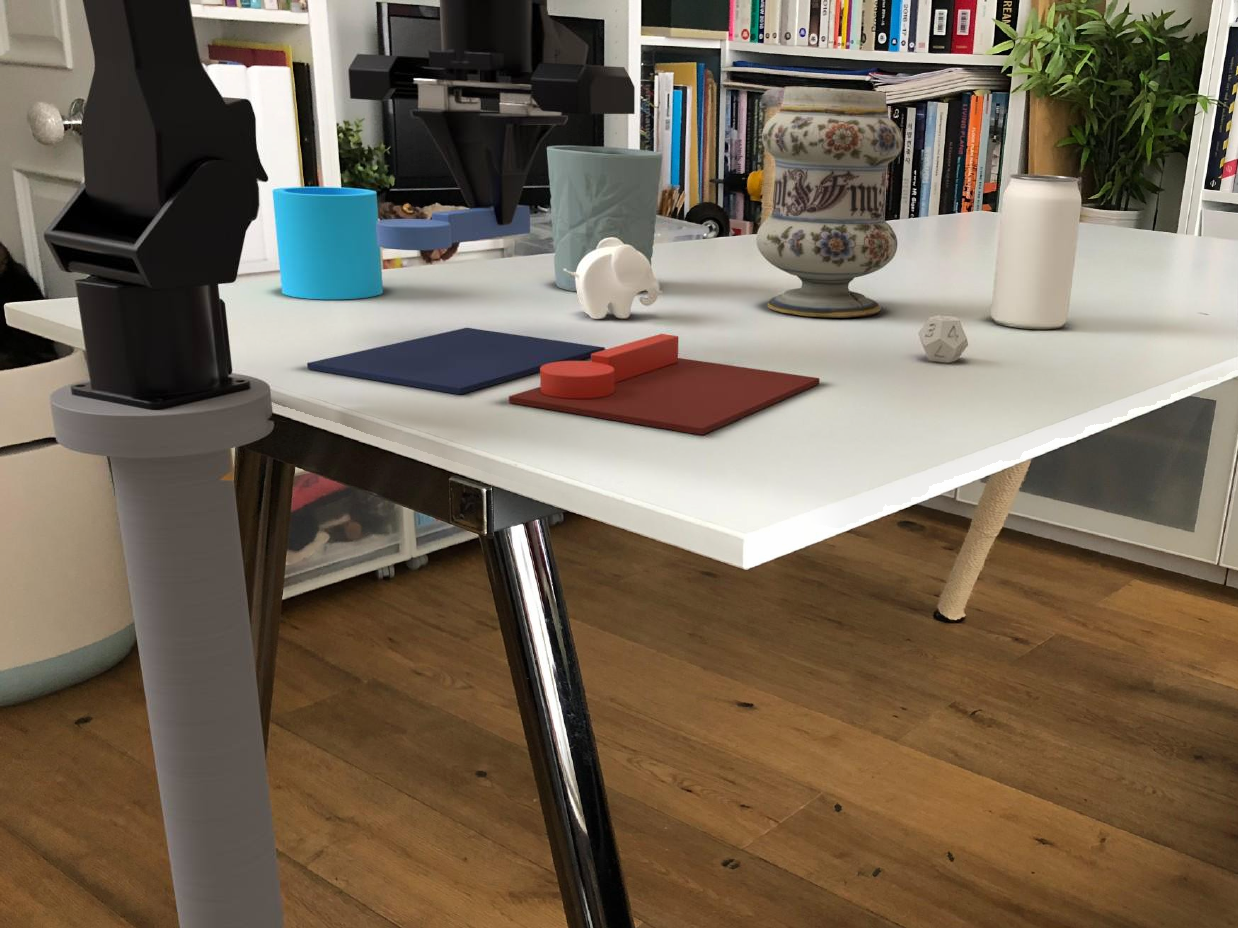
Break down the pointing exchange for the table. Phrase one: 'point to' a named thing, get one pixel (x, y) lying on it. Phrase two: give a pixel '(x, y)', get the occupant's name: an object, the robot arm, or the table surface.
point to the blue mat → (455, 360)
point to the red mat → (682, 396)
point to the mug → (328, 242)
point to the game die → (943, 339)
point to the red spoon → (607, 368)
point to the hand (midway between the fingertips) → (493, 223)
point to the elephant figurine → (614, 279)
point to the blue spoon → (449, 228)
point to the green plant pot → (600, 202)
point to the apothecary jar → (829, 197)
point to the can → (1036, 251)
